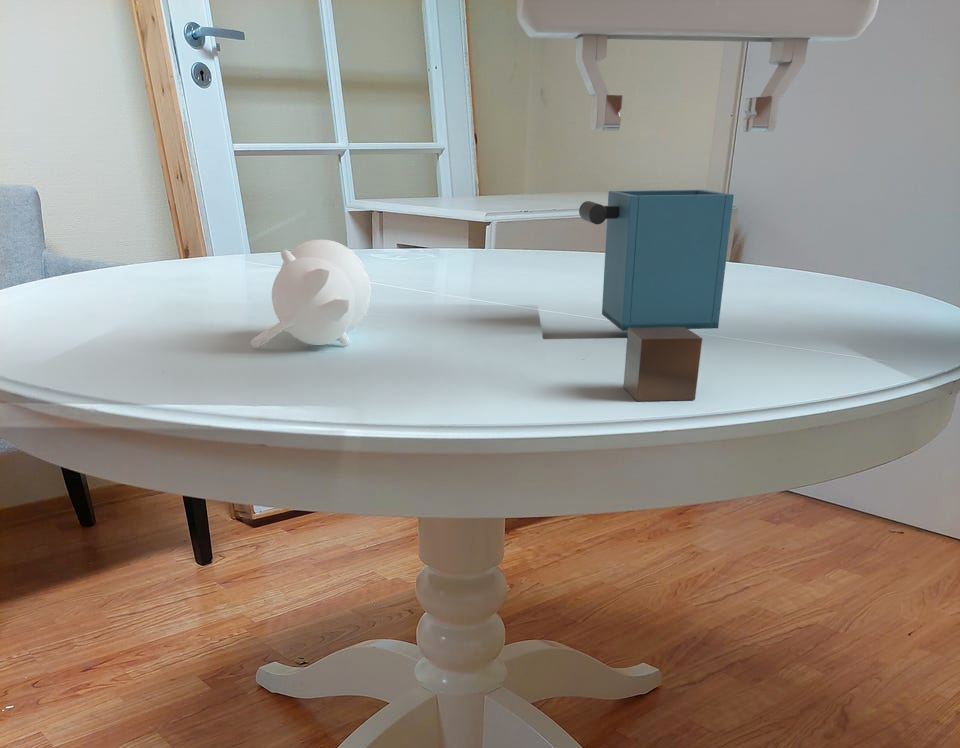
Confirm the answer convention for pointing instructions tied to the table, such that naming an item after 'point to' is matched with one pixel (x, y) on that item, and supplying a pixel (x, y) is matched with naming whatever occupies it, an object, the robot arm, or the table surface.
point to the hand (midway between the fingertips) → (682, 131)
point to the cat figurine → (319, 294)
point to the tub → (663, 256)
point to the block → (662, 363)
